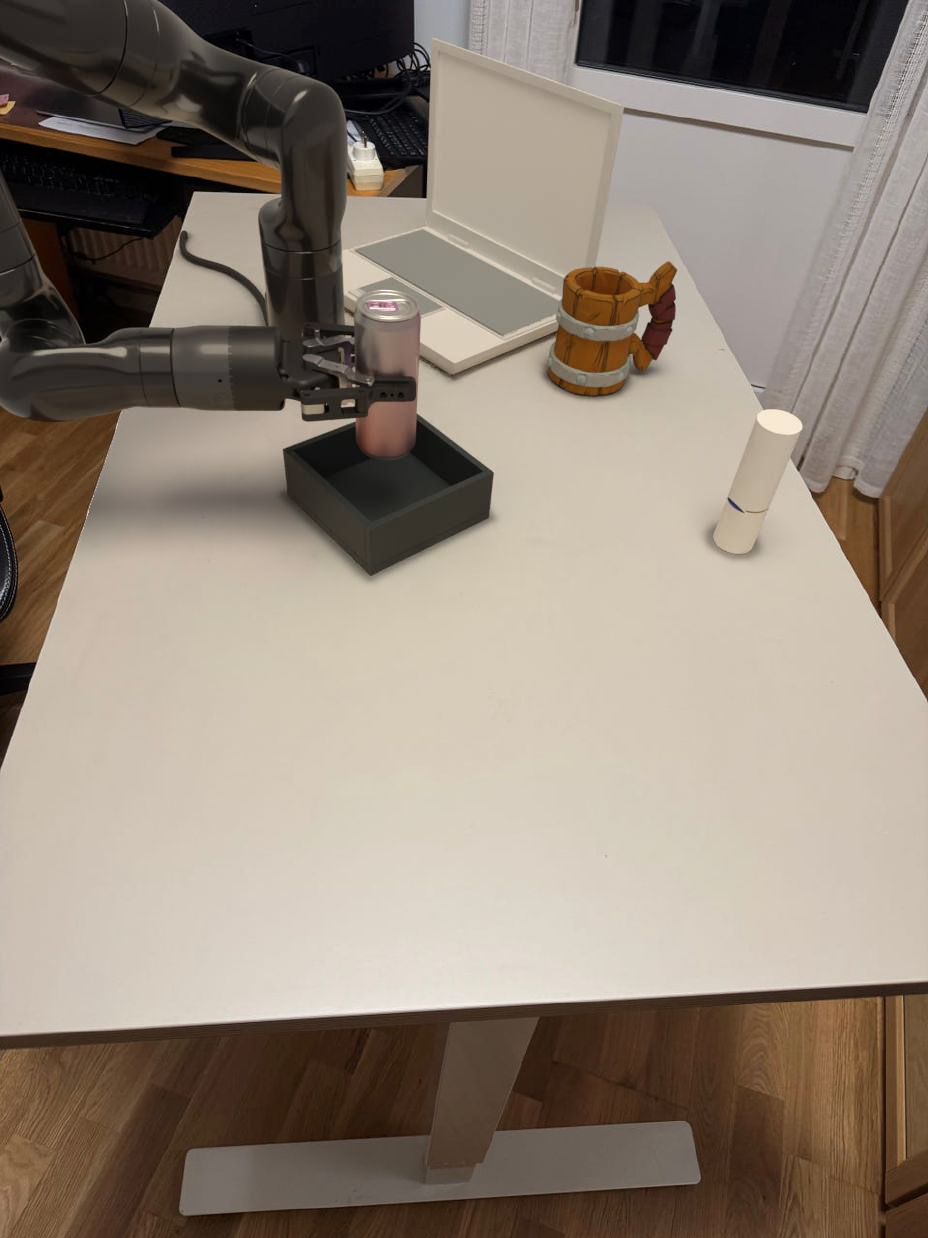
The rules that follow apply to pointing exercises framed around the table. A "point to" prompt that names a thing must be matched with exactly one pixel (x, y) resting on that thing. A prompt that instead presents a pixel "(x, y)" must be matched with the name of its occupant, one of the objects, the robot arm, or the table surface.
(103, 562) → the table surface
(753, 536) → the tube
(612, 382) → the mug
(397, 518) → the bin
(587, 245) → the laptop
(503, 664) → the table surface
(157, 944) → the table surface
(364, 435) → the beverage can
